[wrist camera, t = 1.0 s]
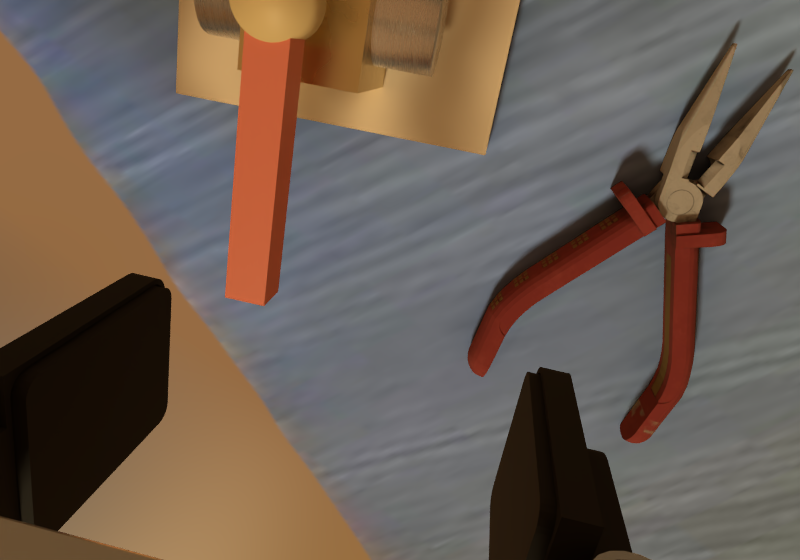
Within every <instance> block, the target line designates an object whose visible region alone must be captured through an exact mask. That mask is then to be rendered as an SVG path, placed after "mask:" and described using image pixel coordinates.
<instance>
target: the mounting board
mask: <svg viewBox="0 0 800 560" xmlns="http://www.w3.org/2000/svg"><path fill="white" fill-rule="evenodd" d="M519 3H520V0H448V8H447V16H446V22H445V28H444V34H443V39H442V44H441V49H440V53H439V57H438V61H437V65H436V68H435V71H434V74H433V76H432V77H429V76H423V75H418V74H413V73H408V72H402V71H397V70H392V69H387V68H386V71H385V78H384V84H383V87H382V88H378V89H374V90H370V91H366V92H361V93H353V92H348V91H343V90H337V89H332V88H327V87H322V86H317V85H312V84H307V83H302V82H300V91H299V100H298V110H297V117H298V118H303V119H308V120H313V121H318V122H323V123H328V124H333V125H338V126H343V127H348V128H353V129H358V130H363V131H368V132H373V133H378V134H383V135H388V136H392V137H397V138H402V139H407V140H412V141H417V142H422V143H427V144H432V145H437V146H442V147H447V148H452V149H457V150H462V151H467V152H472V153H477V154H482V155H485V154H486V149H487V145H488V140H489V136H490V131H491V127H492V123H493V118H494V114H495V109H496V105H497V100H498V96H499V92H500V87H501V83H502V78H503V74H504V69H505V65H506V60H507V56H508V52H509V47H510V43H511V38H512V34H513V29H514V25H515V20H516V16H517V12H518V7H519ZM238 53H239V40H235V39H230V38H225V37H220V36H214V35H210V34H207V33H206V32H205V31H204V30H203V29H202V27H201V26H200V24H199V21H198V18H197V15H196V11H195V5H194V0H179V23H178V52H177V81H176V93H179V94H183V95H188V96H193V97H198V98H203V99H208V100H213V101H218V102H223V103H228V104H233V105H238V106H239V98H240V84H241V71H240V70H237V67H238Z"/></svg>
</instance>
